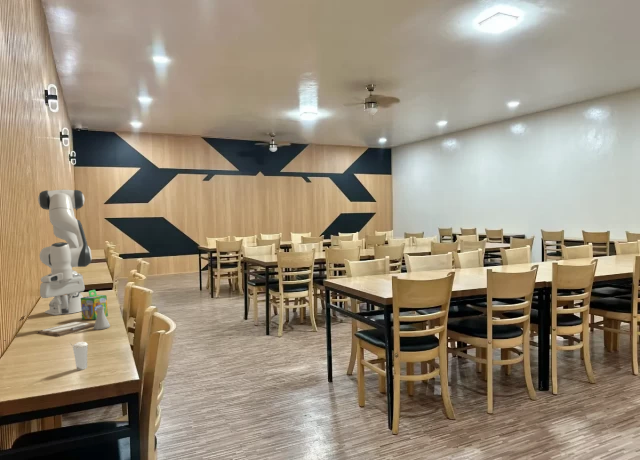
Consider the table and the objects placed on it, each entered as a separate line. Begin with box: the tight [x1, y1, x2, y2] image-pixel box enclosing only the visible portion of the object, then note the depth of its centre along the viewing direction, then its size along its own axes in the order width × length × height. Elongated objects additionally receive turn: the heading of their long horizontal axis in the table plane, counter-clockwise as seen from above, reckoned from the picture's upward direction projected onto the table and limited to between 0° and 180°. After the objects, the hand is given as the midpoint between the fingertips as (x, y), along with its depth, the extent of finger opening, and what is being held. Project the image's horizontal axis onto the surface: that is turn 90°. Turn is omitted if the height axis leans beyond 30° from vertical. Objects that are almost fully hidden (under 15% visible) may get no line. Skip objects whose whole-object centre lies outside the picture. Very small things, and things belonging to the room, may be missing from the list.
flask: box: [92, 307, 111, 331], centre depth 207 cm, size 7×7×10 cm
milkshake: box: [70, 341, 89, 371], centre depth 150 cm, size 4×5×10 cm
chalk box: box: [80, 289, 109, 321], centre depth 231 cm, size 9×9×15 cm
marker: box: [60, 294, 70, 315], centre depth 212 cm, size 3×3×12 cm
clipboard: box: [37, 320, 95, 337], centre depth 208 cm, size 17×19×2 cm
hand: (64, 303), depth 212 cm, fingers closed on marker, 3 cm apart
